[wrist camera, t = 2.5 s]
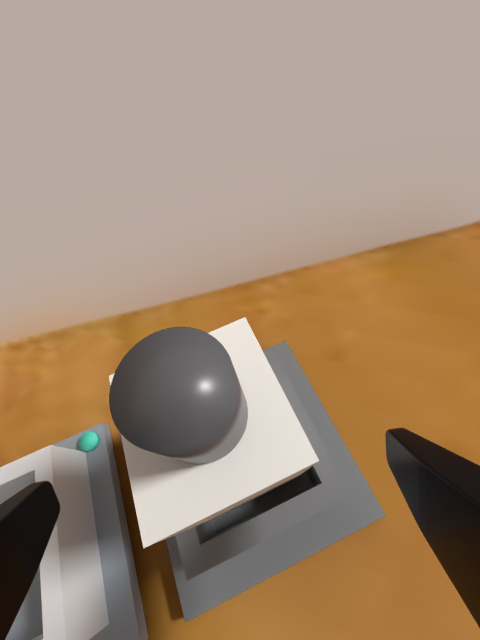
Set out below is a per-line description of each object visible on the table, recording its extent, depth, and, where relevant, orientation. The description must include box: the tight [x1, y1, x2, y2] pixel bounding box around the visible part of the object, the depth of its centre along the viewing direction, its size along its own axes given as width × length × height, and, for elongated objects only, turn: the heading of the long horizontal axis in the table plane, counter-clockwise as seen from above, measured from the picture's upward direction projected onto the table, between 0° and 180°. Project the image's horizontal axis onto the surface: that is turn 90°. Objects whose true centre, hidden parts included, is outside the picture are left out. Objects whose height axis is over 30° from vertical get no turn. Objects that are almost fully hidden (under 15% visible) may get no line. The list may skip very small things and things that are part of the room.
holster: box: [166, 341, 386, 622], centre depth 15 cm, size 10×10×4 cm
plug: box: [109, 317, 319, 549], centre depth 11 cm, size 4×4×12 cm
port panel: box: [0, 423, 148, 640], centre depth 14 cm, size 10×10×4 cm
